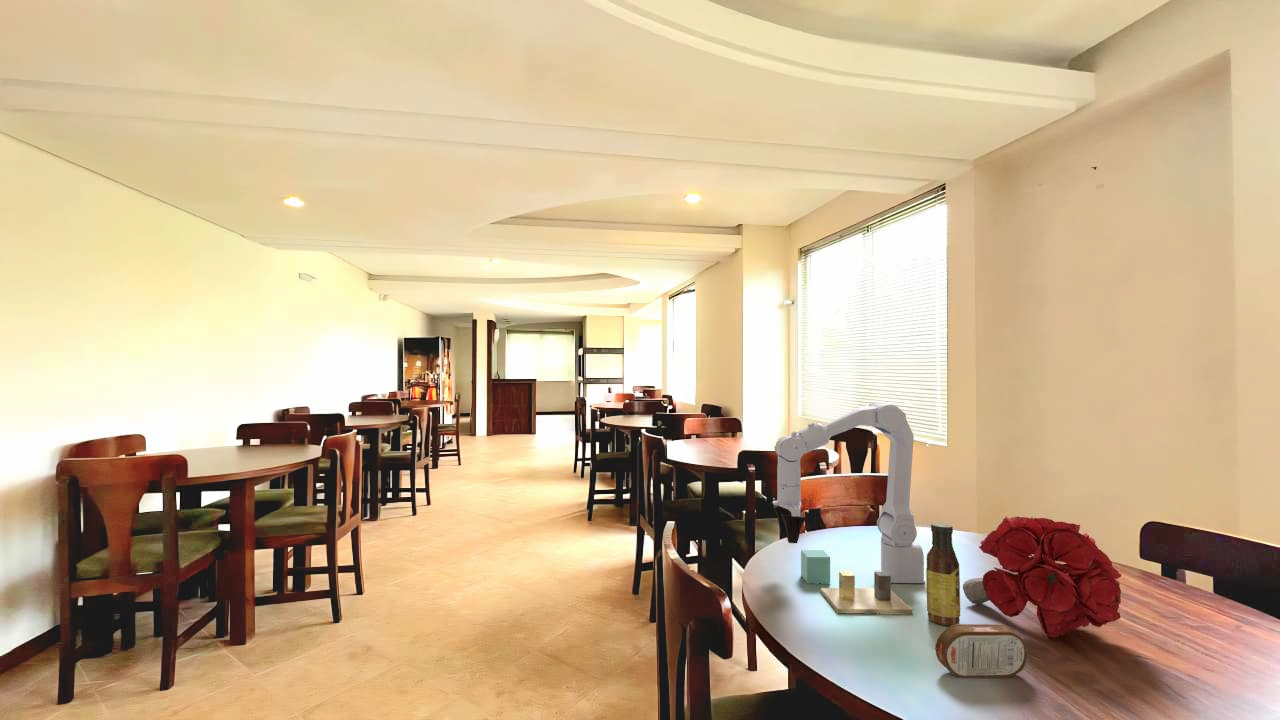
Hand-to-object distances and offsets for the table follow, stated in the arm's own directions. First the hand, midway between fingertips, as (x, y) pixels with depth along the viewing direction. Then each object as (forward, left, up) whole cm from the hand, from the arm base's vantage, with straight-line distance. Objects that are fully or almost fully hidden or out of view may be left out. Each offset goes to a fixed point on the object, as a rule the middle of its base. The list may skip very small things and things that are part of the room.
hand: (789, 538), depth 148 cm
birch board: (-13, +16, -10) cm, 23 cm away
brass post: (-9, +16, -10) cm, 21 cm away
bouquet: (-44, +27, -10) cm, 53 cm away
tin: (-22, +47, -10) cm, 52 cm away
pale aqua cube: (-6, +2, -10) cm, 12 cm away
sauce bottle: (-26, +25, -10) cm, 37 cm away
